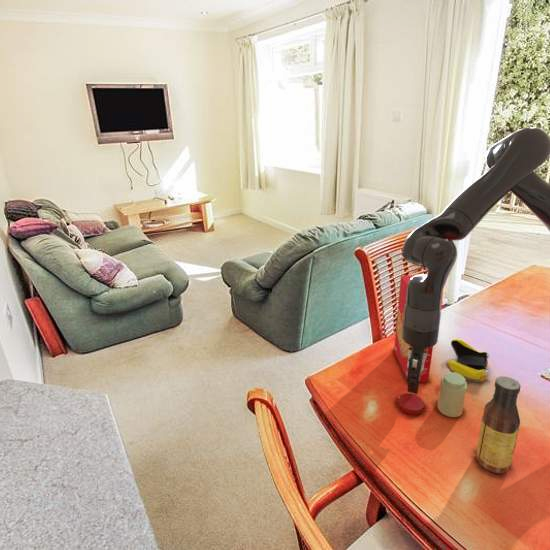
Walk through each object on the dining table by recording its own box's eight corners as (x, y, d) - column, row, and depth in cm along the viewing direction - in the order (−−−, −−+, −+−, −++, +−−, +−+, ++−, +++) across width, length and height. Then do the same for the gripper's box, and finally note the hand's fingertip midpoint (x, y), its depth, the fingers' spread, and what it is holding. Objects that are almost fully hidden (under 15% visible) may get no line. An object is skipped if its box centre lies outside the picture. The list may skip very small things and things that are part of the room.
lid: (392, 401, 94) (393, 397, 94) (412, 395, 96) (413, 390, 95) (407, 417, 89) (408, 413, 88) (428, 410, 91) (429, 406, 90)
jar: (458, 401, 93) (463, 371, 90) (465, 418, 88) (471, 386, 84) (434, 400, 94) (439, 370, 90) (440, 416, 89) (445, 385, 85)
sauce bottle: (516, 473, 74) (539, 394, 66) (486, 477, 74) (505, 397, 66) (496, 447, 80) (514, 371, 72) (467, 449, 80) (483, 374, 72)
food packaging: (394, 350, 114) (400, 275, 104) (411, 350, 114) (420, 274, 104) (408, 382, 101) (417, 299, 91) (428, 381, 100) (439, 298, 91)
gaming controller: (443, 379, 101) (485, 391, 96) (445, 363, 99) (489, 373, 94) (450, 350, 113) (487, 359, 108) (452, 335, 110) (491, 343, 106)
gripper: (408, 304, 90) (402, 360, 96) (398, 334, 78) (393, 395, 85) (441, 309, 87) (434, 367, 93) (437, 341, 75) (428, 404, 82)
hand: (414, 380), depth 89 cm, fingers open, 8 cm apart
